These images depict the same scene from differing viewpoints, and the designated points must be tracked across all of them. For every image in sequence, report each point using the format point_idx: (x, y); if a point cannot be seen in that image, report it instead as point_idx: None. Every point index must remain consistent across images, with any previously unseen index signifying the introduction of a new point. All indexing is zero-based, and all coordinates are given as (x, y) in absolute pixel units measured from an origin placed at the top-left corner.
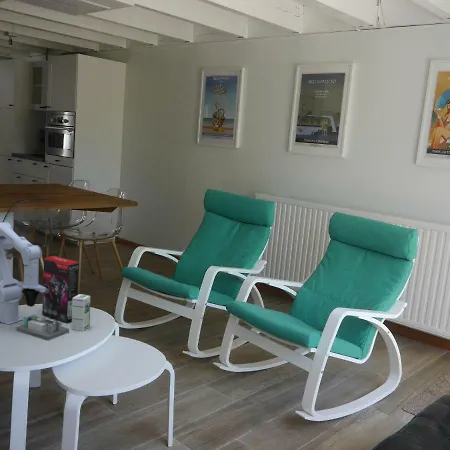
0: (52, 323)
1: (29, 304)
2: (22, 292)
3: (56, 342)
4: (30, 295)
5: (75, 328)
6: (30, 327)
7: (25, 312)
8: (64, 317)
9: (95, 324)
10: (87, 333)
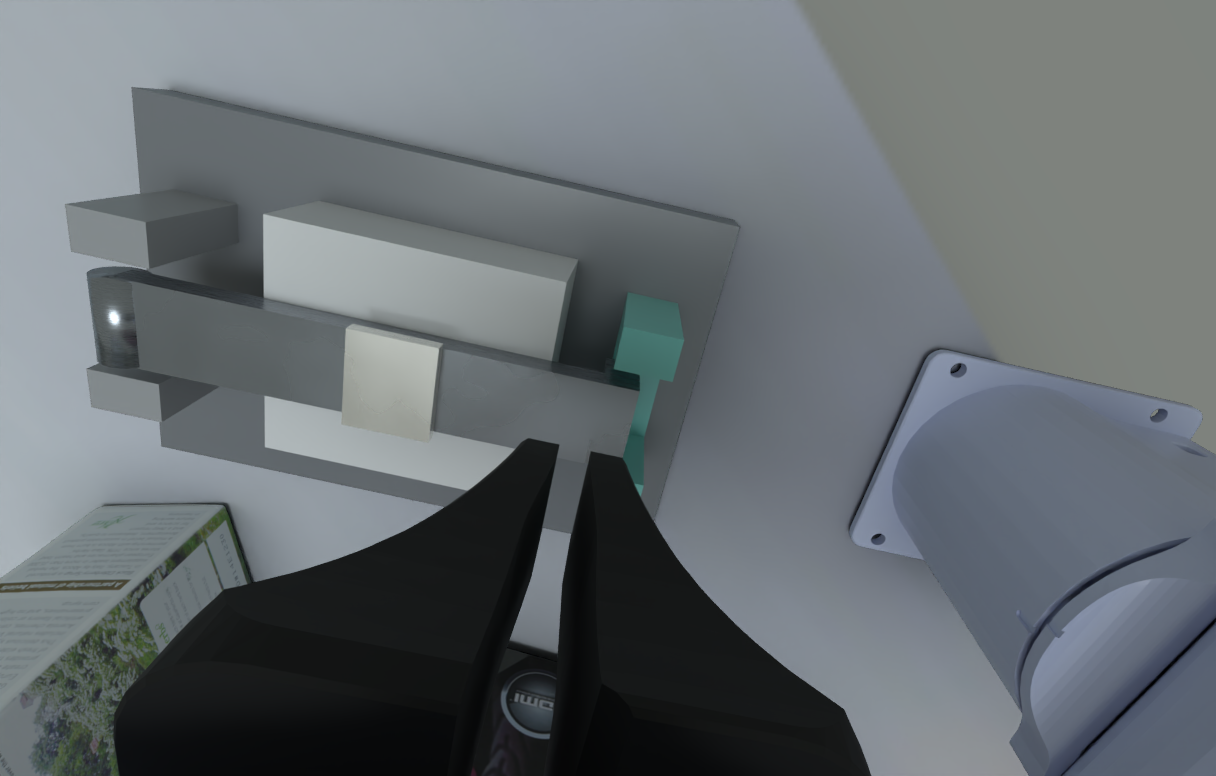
0: (107, 278)
1: (542, 455)
2: (804, 686)
3: (39, 76)
4: (341, 568)
5: (176, 510)
6: (526, 252)
7: (935, 711)
8: None
9: None
10: (23, 467)
